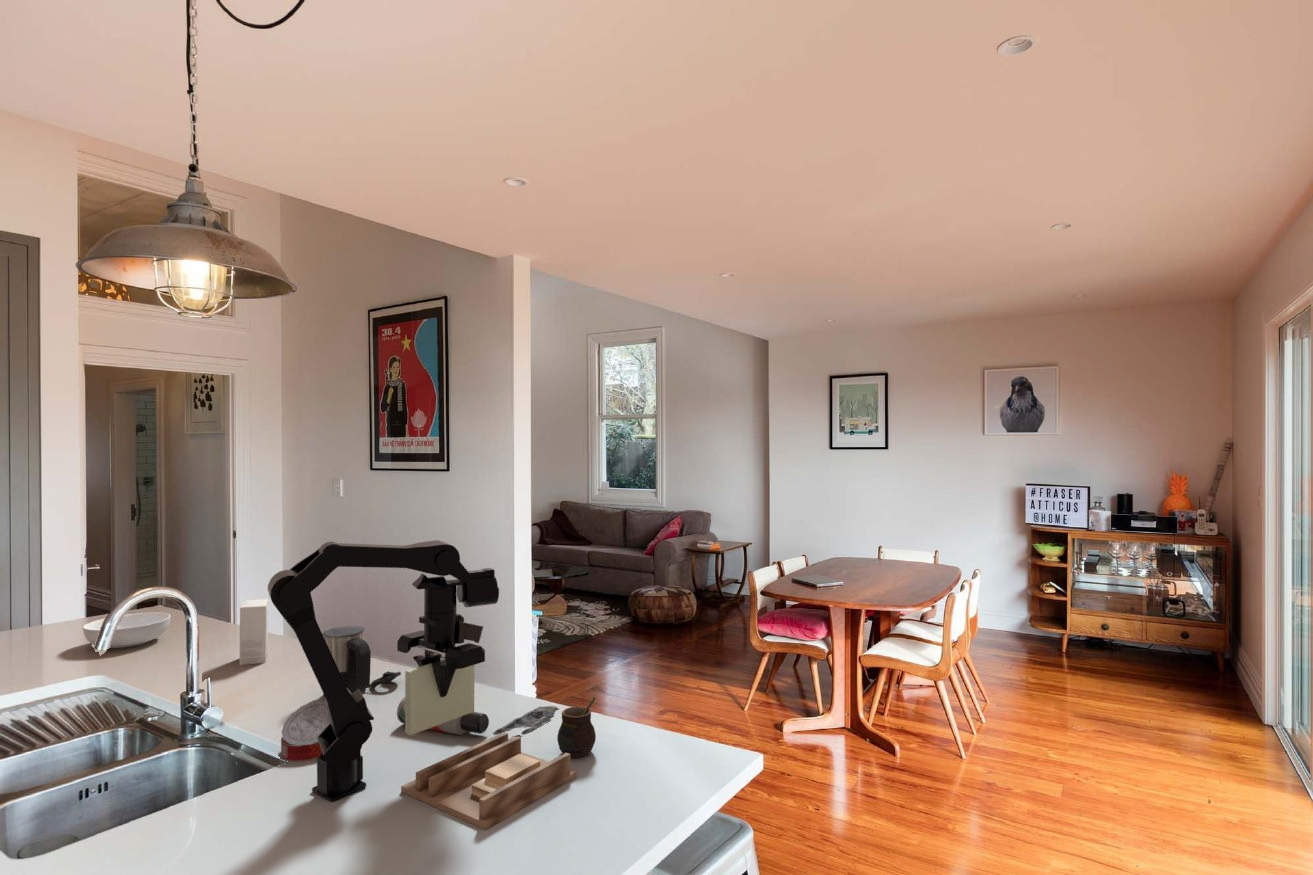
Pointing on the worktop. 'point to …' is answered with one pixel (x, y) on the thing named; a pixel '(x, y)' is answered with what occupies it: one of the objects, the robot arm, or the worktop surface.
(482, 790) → the pine offcut
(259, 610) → the skincare box
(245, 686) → the worktop surface
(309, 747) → the canned food
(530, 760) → the oak offcut
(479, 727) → the lotion bottle
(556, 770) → the walnut rack
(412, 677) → the green sheet
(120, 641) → the serving bowl
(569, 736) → the mate gourd
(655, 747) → the worktop surface
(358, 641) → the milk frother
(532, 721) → the driftwood
